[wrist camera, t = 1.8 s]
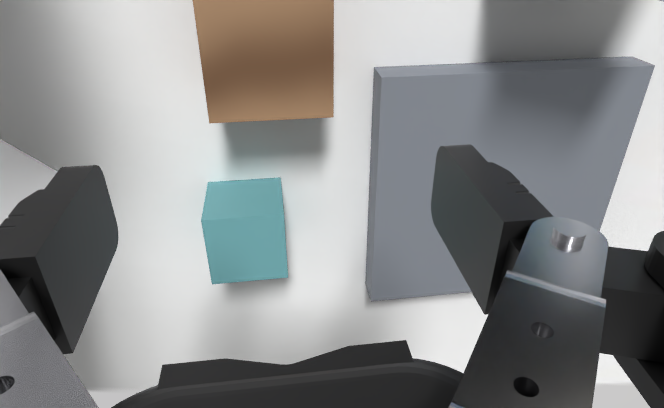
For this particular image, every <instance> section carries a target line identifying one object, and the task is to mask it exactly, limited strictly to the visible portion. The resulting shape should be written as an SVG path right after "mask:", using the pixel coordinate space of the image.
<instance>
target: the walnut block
mask: <svg viewBox="0 0 664 408" xmlns="http://www.w3.org/2000/svg"><path fill="white" fill-rule="evenodd" d="M193 6H194V13H195V20H196V28H197V35H198V42H199V50H200V57H201V64H202V72H203V79H204V86H205V94H206V101H207V108H208V116H209V123H224V122H245V121H266V120H287V119H308V118H329V117H333V62H334V0H193Z"/></svg>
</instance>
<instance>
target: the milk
mask: <svg viewBox="0 0 664 408" xmlns="http://www.w3.org/2000/svg"><path fill="white" fill-rule="evenodd" d="M57 172H58V171H56V170H54V169H52V168H51V167H49V166H47V165H45V164H44V163H42V162H40V161H38V160H36V159H35V158H33V157H31V156H29V155H28V154H26V153H24V152H22V151H21V150H19V149H17V148H15V147H14V146H12V145H10V144H8V143H6V142H5V141H3V140H1V139H0V225H1V223H2V222H3V221H4V220H5V219H6V218H8V215H9V214H10V213H11V211H12V210H13V209H14V208H15V206H16V205H17V204H18V203H19V202H20V201H21V200H23V199H25V198H26V197H28V196H29V195H31V194H32V193H34V192H36V191H37V190H40V189H45V187H46V186H47V185H48V184H49V182H50V181H51V180H52V178H53V177H54V176H55V174H56V173H57Z"/></svg>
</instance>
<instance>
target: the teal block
mask: <svg viewBox="0 0 664 408" xmlns="http://www.w3.org/2000/svg"><path fill="white" fill-rule="evenodd" d="M201 222H202V228H203V234H204V239H205V245H206V251H207V257H208V263H209V269H210V275H211V281H212V284H220V283H232V282H243V281H254V280H265V279H277V278H288V269H287V254H286V239H285V224H284V210H283V199H282V188H281V178H266V179H251V180H235V181H220V182H208V185H207V191H206V197H205V202H204V208H203V214H202V219H201Z"/></svg>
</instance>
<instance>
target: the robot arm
mask: <svg viewBox="0 0 664 408" xmlns="http://www.w3.org/2000/svg"><path fill="white" fill-rule="evenodd" d="M431 214H432V219H433V223H434V225H435V227H436V229H437V231H438V233H439V234H440V236H441V238H442V240H443V242H444V243H445V245H446V247H447V249H448V250H449V252H450V254H451V256H452V258H453V259H454V261H455V263H456V265H457V266H458V268H459V270H460V272H461V274H462V275H463V277H464V279H465V281H466V282H467V284H468V286H469V288H470V290H471V291H472V293H473V295H474V297H475V298H476V300H477V302H478V304H479V306H480V307H481V309H482V311H483V313H484V314H488V317H487V319H486V321H485V324H484V326H483V329H482V331H481V333H480V336H479V338H478V340H477V343H476V345H475V347H474V350H473V352H472V355H471V357H470V359H469V362H468V364H467V366H466V369H465V371H464V373H461V372H459V371H457V370H455V369H452V368H450V367H447V366H444V365H441V364H438V363H435V362H430V361H426V360H421V359H413V358H412V356H411V353H410V350H409V347H408V344H407V342H406V340H403V341H394V342H384V343H374V344H364V345H354V346H347V347H344V348H341V349H338V350H335V351H332V352H329V353H325V354H322V355H319V356H316V357H313V358H310V359H307V360H304V361H300V362H297V363H294V364H289V365H280V364H271V363H261V362H252V361H242V360H233V359H216V360H207V361H197V362H187V363H177V364H167V365H162V370H161V374H160V379H159V384H158V386H155V387H152V388H149V389H146V390H144V391H142V392H139V393H137V394H135V395H133V396H131V397H129V398H127V399H125V400H123V401H121V402H119V403H118V404H116V405H115V406H113V407H112V408H592V403H593V397H594V389H595V382H596V375H597V367H598V360H599V353H603V354H610V355H613V356H614V357H615V359H616V360H617V362H618V363H619V364H620V366H621V367H622V369H623V370H624V371H625V373H626V374H627V376H628V377H629V378H630V380H631V381H632V382H633V384H634V385H635V387H636V388H637V389H638V391H639V392H640V394H641V395H642V396H643V398H644V399H645V400H646V402H647V403H648V405H649V406H650V407H651V408H664V231H661V232H659V233H657V234H656V235H655V236H654V238H653V240H652V243H651V245H650V248H649V250H648V251H640V250H631V249H623V248H614V247H608V242H607V239H606V238H605V236H604V235H603V234H602V233H601V232H599V231H598V230H597V229H595V228H593V227H592V226H590V225H588V224H586V223H583V222H580V221H577V220H574V219H569V218H563V217H554V216H553V215H552V214H551V213H550V212H549V211H548V210H547V209H546V208H545V207H544V206H543V205H542V204H541V203H540V202H539V201H538V200H537V199H536V198H535V197H534V196H533V195H532V193H529V190H528V189H527V188H526V187H525V186H524V185H523V184H520V181H519V180H518V179H517V178H516V177H515V176H514V175H513V174H512V173H511V172H510V171H509V170H507V169H505V168H503V167H501V166H499V165H497V164H495V163H493V162H487V161H486V160H485V158H484V157H483V156H482V155H481V154H480V153H479V152H478V151H477V150H476V149H475V148H474V146H472V145H471V144H467V145H450V146H440V147H439V149H438V151H437V156H436V163H435V172H434V180H433V189H432V198H431ZM117 244H118V227H117V222H116V218H115V215H114V211H113V207H112V204H111V200H110V196H109V193H108V189H107V185H106V182H105V178H104V175H103V172H102V170H101V168H100V167H99V166H97V165H91V166H74V167H62V168H60V169H59V171H58V172H57V173H56V174H55V176H54V177H53V178H52V180H51V181H50V182H49V184H48V185H47V186H46V187H45V189H40V190H37V191H36V192H34V193H32V194H31V195H29V196H28V197H26V198H25V199H23V200H21V201H20V202H19V203H18V204H17V205H16V206H15V208H14V209H13V210H12V211H11V213H10V214H9V215H8V218H6V219H5V220H4V221H3V222H2V223H1V225H0V408H98V406H97V405H96V403H95V402H94V400H93V399H92V397H91V396H90V394H89V393H88V391H87V390H86V388H85V387H84V385H83V384H82V382H81V381H80V379H79V378H78V376H77V375H76V373H75V372H74V370H73V369H72V367H71V366H70V364H69V363H68V361H67V360H66V358H65V357H64V355H63V354H69V353H73V352H74V349H75V347H76V344H77V342H78V340H79V337H80V335H81V333H82V330H83V328H84V325H85V323H86V321H87V318H88V316H89V313H90V311H91V309H92V306H93V304H94V301H95V299H96V297H97V294H98V292H99V290H100V287H101V285H102V282H103V280H104V278H105V275H106V273H107V270H108V268H109V266H110V263H111V261H112V258H113V256H114V254H115V251H116V249H117Z"/></svg>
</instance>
